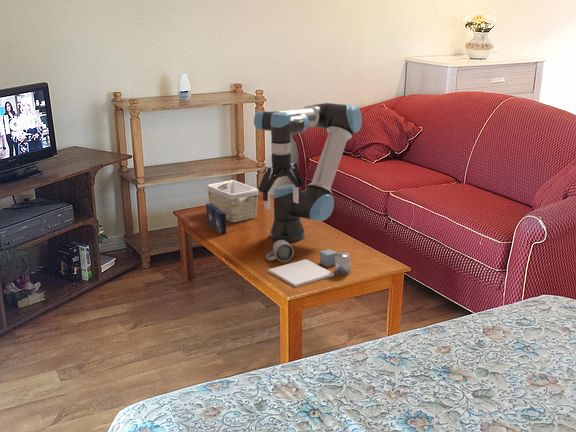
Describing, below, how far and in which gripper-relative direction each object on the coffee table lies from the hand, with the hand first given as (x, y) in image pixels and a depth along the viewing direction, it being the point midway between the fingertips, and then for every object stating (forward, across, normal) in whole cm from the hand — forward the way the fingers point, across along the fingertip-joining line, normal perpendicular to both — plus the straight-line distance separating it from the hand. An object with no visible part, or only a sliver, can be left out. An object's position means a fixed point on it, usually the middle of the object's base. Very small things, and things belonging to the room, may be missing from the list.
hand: (281, 205), depth 267 cm
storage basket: (+23, +13, +62) cm, 68 cm away
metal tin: (+23, +11, -25) cm, 36 cm away
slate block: (+23, +12, -15) cm, 30 cm away
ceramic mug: (+23, -1, 0) cm, 23 cm away
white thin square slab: (+23, -3, -17) cm, 29 cm away
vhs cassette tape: (+23, -3, +49) cm, 55 cm away
